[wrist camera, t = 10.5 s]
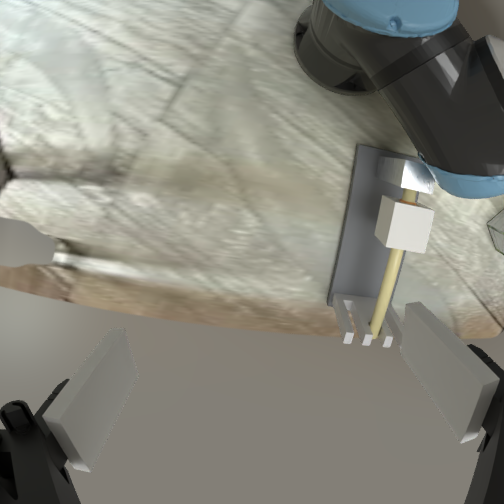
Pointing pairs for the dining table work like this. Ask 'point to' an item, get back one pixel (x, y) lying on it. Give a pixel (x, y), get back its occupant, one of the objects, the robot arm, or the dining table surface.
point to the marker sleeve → (403, 225)
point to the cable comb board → (373, 245)
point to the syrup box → (497, 231)
